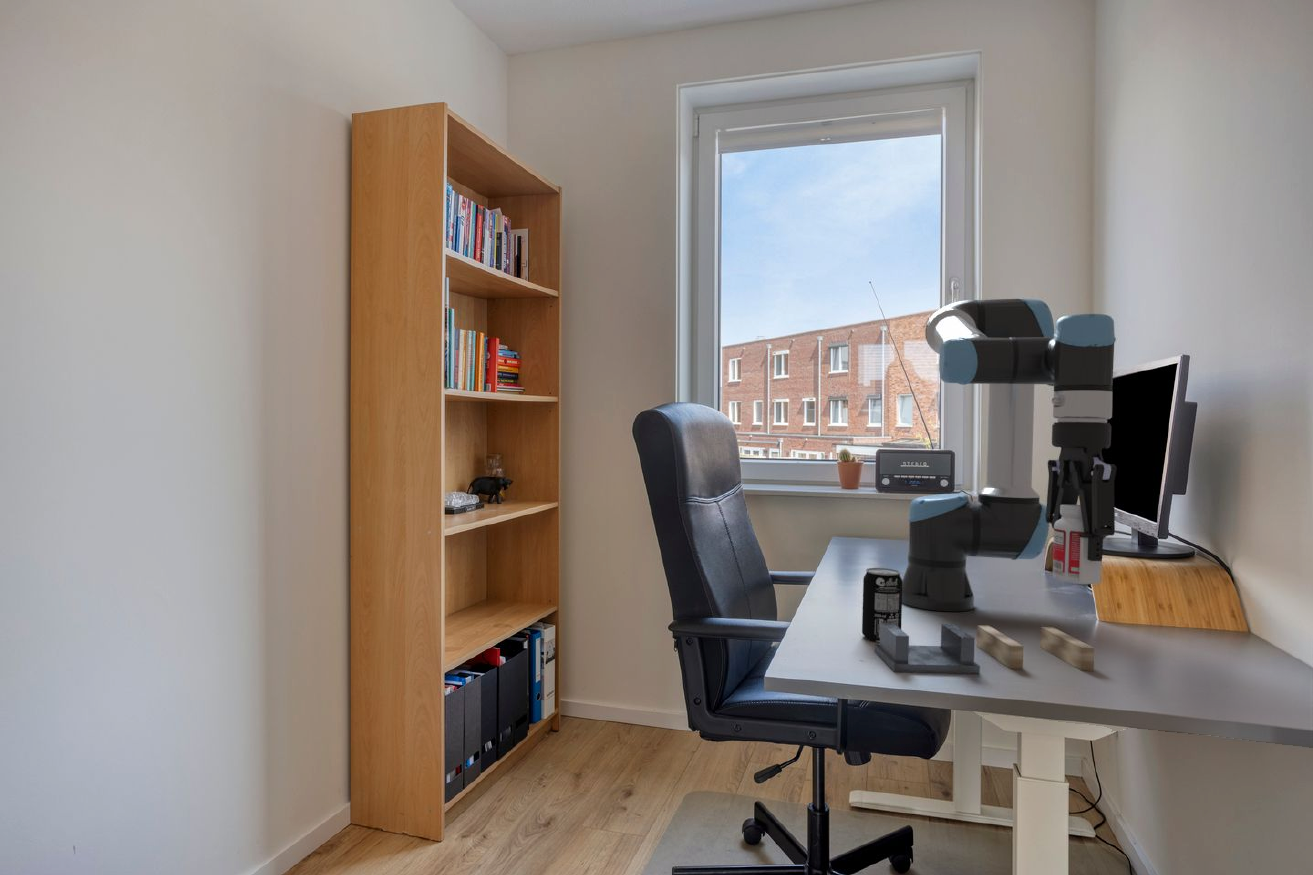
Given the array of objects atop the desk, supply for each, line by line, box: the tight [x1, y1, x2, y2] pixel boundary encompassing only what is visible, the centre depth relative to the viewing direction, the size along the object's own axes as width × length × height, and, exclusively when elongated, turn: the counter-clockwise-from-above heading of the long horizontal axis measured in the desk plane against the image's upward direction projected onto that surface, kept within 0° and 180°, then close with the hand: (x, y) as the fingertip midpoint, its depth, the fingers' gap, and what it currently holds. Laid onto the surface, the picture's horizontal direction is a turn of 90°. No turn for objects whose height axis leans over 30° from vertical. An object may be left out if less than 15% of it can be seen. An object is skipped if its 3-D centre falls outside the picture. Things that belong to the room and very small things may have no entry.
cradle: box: [874, 622, 981, 675], centre depth 117 cm, size 10×13×5 cm
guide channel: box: [976, 625, 1095, 671], centre depth 121 cm, size 12×13×4 cm
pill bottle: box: [1052, 504, 1094, 585], centre depth 108 cm, size 6×6×11 cm
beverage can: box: [861, 567, 903, 644], centre depth 130 cm, size 7×7×12 cm
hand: (1076, 577), depth 109 cm, fingers closed on pill bottle, 6 cm apart
